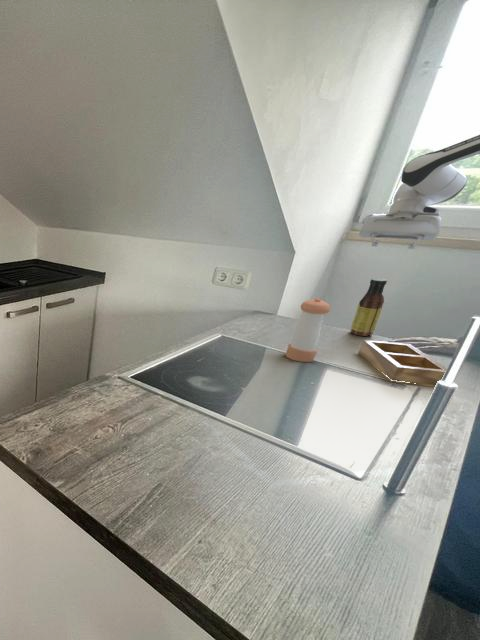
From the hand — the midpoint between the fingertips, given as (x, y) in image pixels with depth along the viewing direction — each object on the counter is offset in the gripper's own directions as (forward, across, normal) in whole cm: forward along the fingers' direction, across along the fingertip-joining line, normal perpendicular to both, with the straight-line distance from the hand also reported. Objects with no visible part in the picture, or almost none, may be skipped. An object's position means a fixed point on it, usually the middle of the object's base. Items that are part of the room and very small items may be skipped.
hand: (392, 246), depth 136 cm
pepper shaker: (+57, -12, -15) cm, 60 cm away
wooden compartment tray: (+51, +10, -10) cm, 53 cm away
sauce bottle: (+30, 0, +12) cm, 32 cm away
